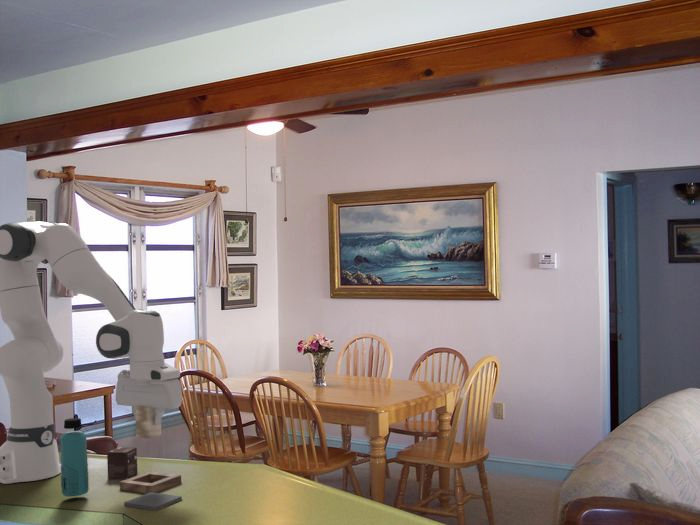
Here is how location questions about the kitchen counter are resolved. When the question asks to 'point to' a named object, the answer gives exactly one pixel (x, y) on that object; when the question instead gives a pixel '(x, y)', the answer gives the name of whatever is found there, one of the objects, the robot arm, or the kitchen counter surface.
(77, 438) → the beverage bottle
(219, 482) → the kitchen counter surface
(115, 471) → the box
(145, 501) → the mat
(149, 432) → the peg block
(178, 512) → the kitchen counter surface
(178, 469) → the kitchen counter surface
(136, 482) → the pocket holder
